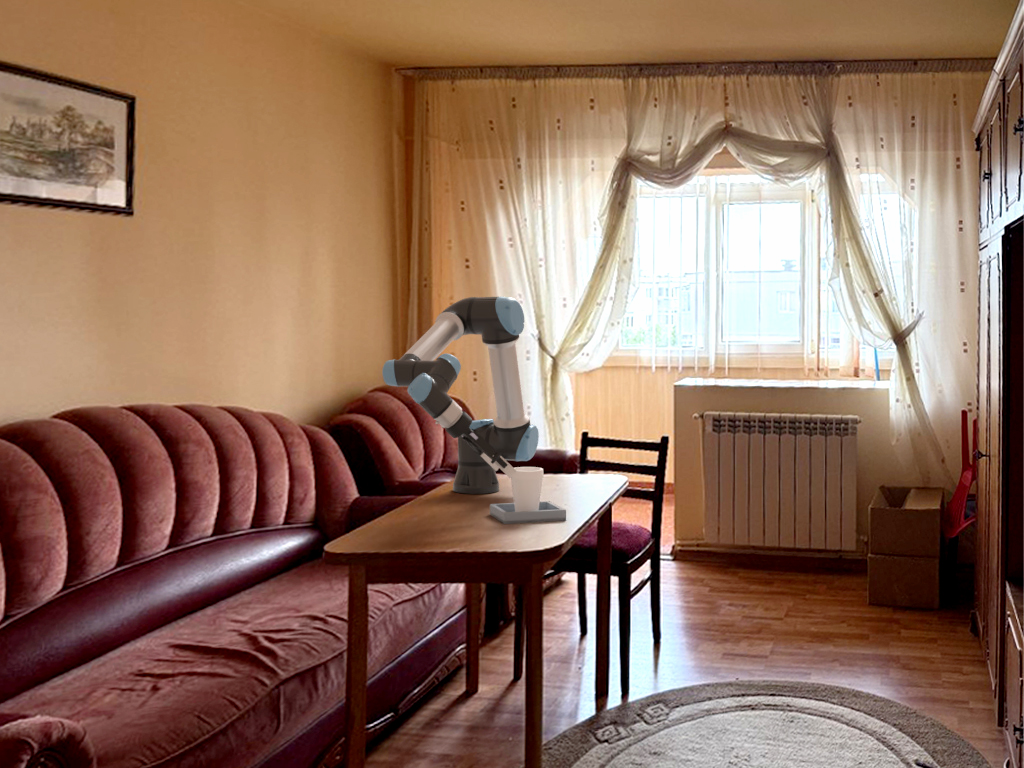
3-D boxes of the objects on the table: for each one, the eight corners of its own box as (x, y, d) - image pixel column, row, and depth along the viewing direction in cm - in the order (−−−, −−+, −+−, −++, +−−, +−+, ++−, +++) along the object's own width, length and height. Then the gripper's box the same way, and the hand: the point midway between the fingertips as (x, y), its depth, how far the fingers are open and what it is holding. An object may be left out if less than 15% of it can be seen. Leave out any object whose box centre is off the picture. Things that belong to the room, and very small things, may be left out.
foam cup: (539, 517, 318) (539, 471, 317) (507, 516, 320) (507, 471, 319) (545, 512, 327) (545, 467, 326) (514, 511, 329) (514, 466, 328)
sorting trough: (489, 514, 328) (489, 504, 328) (549, 511, 333) (549, 501, 333) (504, 524, 313) (504, 513, 313) (566, 520, 318) (566, 509, 318)
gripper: (434, 425, 326) (485, 474, 332) (455, 434, 303) (509, 487, 308) (452, 406, 328) (502, 455, 333) (474, 413, 304) (528, 467, 309)
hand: (506, 471), depth 320 cm, fingers open, 13 cm apart
